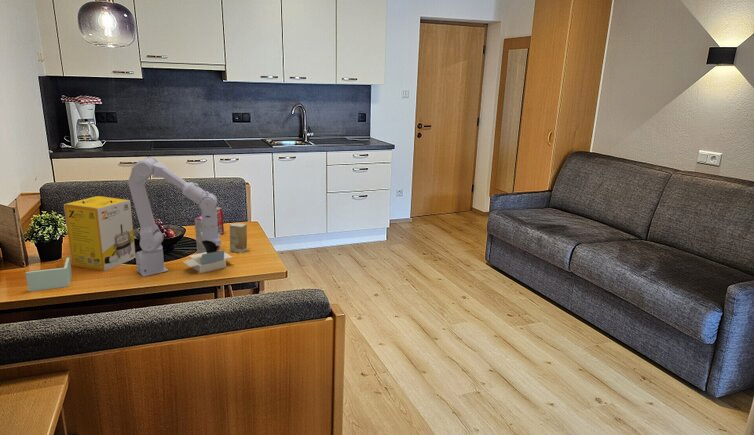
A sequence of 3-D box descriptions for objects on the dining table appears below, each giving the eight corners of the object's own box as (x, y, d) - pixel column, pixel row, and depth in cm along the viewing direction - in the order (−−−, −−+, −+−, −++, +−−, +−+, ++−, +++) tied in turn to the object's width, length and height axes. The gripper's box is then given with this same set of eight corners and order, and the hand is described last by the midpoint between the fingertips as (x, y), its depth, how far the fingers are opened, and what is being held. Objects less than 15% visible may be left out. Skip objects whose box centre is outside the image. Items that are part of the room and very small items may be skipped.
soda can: (227, 233, 241) (225, 208, 238) (215, 236, 235) (213, 210, 232) (217, 230, 245) (215, 205, 241) (205, 234, 239) (203, 208, 236)
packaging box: (105, 252, 209) (98, 195, 203) (136, 258, 205) (130, 199, 198) (71, 265, 194) (63, 204, 188) (104, 271, 190) (96, 208, 183)
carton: (191, 275, 189) (190, 262, 187) (178, 266, 198) (177, 253, 196) (234, 265, 200) (233, 252, 199) (220, 257, 209) (219, 244, 208)
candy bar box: (209, 247, 221) (207, 212, 217) (219, 248, 220) (218, 212, 216) (196, 255, 211) (193, 218, 206) (206, 256, 210) (204, 219, 205)
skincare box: (229, 251, 216) (228, 225, 213) (234, 248, 221) (233, 222, 217) (243, 253, 215) (242, 226, 212) (247, 250, 219) (246, 223, 216)
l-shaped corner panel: (71, 275, 186) (69, 257, 184) (69, 287, 175) (66, 268, 173) (33, 280, 180) (30, 261, 178) (28, 293, 170) (25, 272, 168)
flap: (201, 264, 191) (202, 264, 190) (201, 254, 189) (202, 255, 189) (223, 259, 197) (223, 260, 196) (223, 249, 195) (224, 250, 195)
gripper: (228, 227, 188) (229, 261, 191) (211, 219, 198) (213, 251, 202) (210, 231, 183) (212, 265, 187) (194, 222, 193) (196, 254, 197)
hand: (211, 258), depth 194 cm, fingers closed
